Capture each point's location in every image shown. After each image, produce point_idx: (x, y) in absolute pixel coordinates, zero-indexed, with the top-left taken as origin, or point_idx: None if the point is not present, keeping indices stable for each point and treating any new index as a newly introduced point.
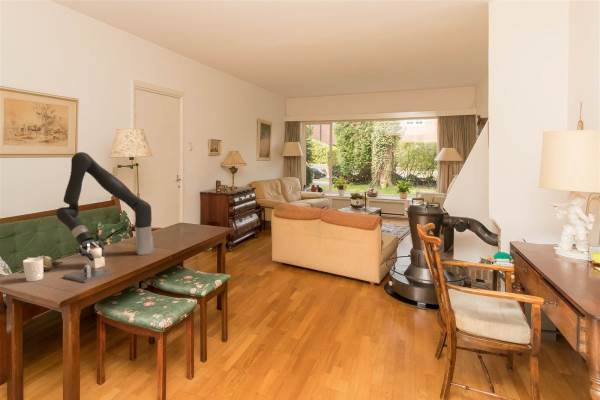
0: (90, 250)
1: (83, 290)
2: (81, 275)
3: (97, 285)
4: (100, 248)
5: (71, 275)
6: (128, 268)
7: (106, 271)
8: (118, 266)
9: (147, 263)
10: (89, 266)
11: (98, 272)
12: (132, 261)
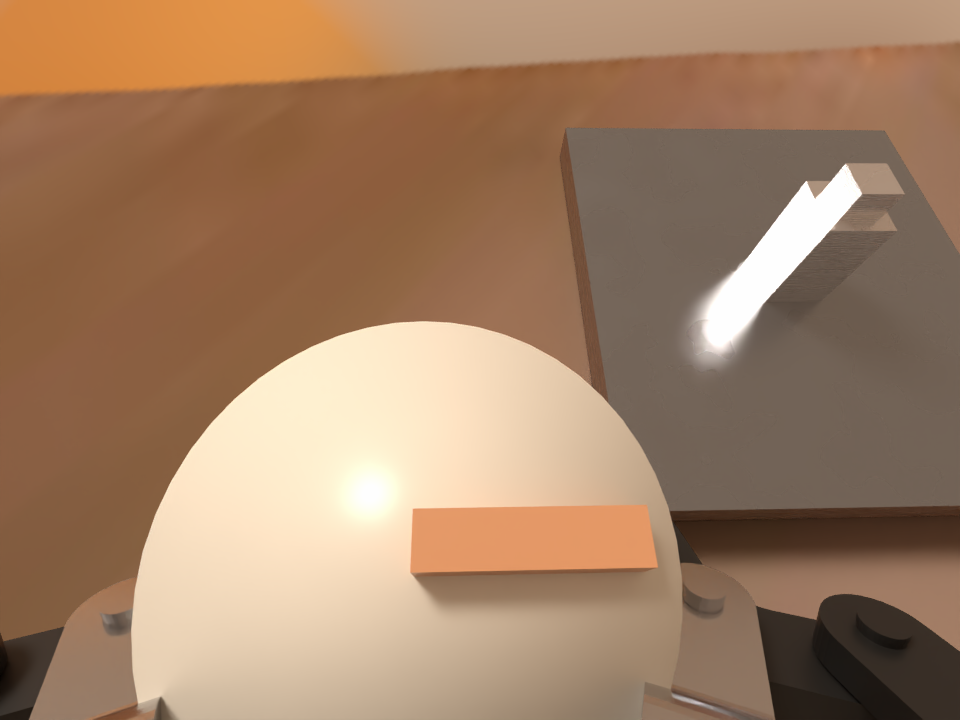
0: (671, 554)
1: (916, 56)
2: (877, 262)
3: (795, 52)
4: (290, 384)
5: None
6: (345, 142)
7: (605, 150)
8: (322, 280)
9: (122, 105)
10: (821, 183)
11: (682, 190)
12: (57, 291)
